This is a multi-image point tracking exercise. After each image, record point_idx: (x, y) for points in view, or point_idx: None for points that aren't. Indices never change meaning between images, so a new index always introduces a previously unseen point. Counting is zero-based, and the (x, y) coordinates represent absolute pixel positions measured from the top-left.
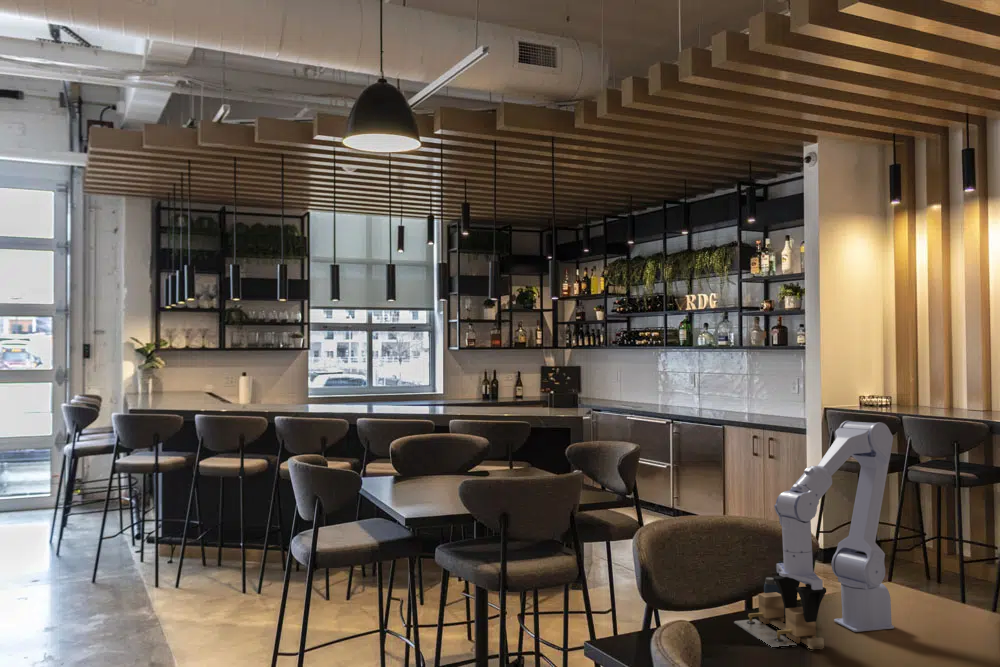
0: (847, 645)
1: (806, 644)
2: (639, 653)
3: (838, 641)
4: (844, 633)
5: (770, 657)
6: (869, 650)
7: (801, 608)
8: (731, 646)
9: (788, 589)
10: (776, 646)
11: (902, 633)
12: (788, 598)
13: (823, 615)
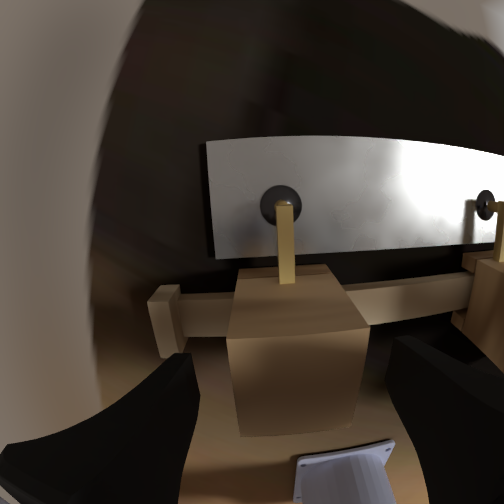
0: (201, 408)
1: (205, 296)
2: None
3: None
4: (305, 438)
5: (116, 100)
6: None
7: (328, 409)
8: (269, 5)
9: (452, 438)
10: (207, 159)
11: (265, 499)
12: (426, 393)
13: None
